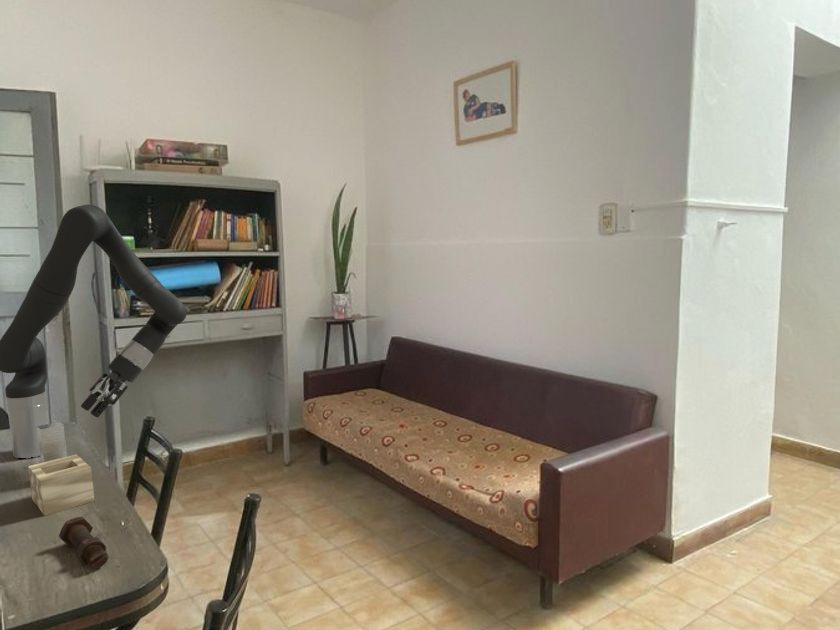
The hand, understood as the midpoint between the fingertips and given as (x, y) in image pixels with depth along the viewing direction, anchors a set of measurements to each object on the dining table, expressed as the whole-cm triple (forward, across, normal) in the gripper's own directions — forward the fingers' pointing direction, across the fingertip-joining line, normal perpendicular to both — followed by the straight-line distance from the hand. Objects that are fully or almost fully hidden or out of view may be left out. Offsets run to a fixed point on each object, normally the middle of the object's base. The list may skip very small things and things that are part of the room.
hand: (88, 412), depth 154 cm
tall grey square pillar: (+17, 0, +5) cm, 18 cm away
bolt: (+21, +46, +1) cm, 50 cm away
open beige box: (+18, +15, +3) cm, 24 cm away
